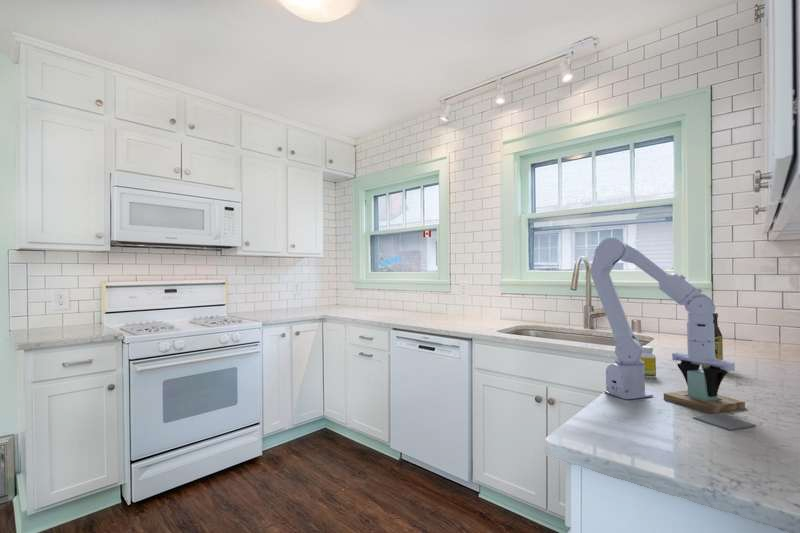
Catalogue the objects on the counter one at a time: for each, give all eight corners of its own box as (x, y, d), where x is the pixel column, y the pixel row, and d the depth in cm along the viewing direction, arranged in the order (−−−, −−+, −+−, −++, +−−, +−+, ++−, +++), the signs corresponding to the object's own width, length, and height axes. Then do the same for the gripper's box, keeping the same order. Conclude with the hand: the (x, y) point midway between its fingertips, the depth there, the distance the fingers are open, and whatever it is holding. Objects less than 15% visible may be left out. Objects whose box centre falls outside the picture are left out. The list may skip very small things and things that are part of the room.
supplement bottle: (659, 378, 129) (658, 348, 129) (640, 378, 130) (639, 347, 130) (652, 374, 134) (651, 345, 135) (634, 374, 136) (633, 345, 136)
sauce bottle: (718, 372, 137) (716, 313, 138) (697, 368, 142) (695, 312, 143) (727, 369, 140) (725, 312, 141) (706, 366, 146) (704, 311, 146)
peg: (705, 406, 101) (704, 374, 101) (688, 401, 105) (687, 370, 105) (717, 404, 102) (716, 373, 102) (700, 399, 106) (699, 369, 107)
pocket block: (710, 413, 96) (709, 406, 96) (663, 399, 108) (663, 393, 108) (745, 408, 100) (744, 401, 100) (696, 394, 111) (696, 389, 111)
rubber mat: (730, 430, 85) (730, 429, 85) (692, 418, 93) (692, 416, 93) (756, 426, 88) (756, 424, 88) (717, 414, 95) (717, 413, 95)
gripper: (742, 343, 98) (744, 399, 98) (684, 336, 112) (686, 385, 112) (722, 345, 96) (724, 402, 96) (665, 337, 110) (667, 387, 110)
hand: (702, 393), depth 104 cm, fingers closed on peg, 4 cm apart
